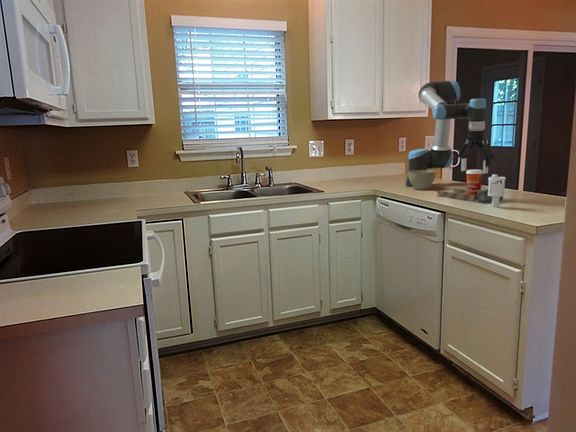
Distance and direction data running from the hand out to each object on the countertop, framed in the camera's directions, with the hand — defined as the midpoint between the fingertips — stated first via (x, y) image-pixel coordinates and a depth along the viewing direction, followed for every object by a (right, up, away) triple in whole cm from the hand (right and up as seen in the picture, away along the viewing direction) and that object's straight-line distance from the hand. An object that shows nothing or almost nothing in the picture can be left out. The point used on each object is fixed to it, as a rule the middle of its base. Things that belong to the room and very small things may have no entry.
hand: (474, 172), depth 221 cm
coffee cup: (+1, -14, +2) cm, 14 cm away
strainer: (+1, -19, -20) cm, 28 cm away
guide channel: (-1, -13, +5) cm, 14 cm away
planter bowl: (-14, -6, +44) cm, 46 cm away
